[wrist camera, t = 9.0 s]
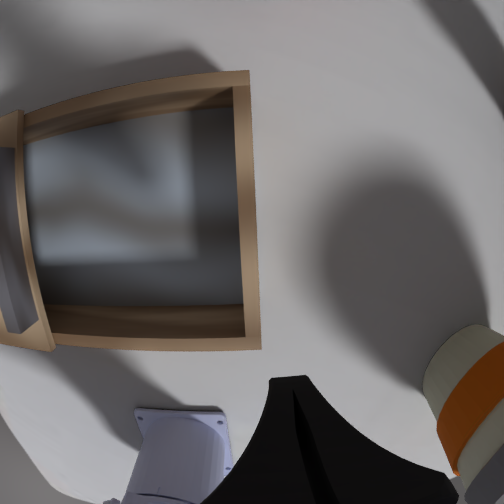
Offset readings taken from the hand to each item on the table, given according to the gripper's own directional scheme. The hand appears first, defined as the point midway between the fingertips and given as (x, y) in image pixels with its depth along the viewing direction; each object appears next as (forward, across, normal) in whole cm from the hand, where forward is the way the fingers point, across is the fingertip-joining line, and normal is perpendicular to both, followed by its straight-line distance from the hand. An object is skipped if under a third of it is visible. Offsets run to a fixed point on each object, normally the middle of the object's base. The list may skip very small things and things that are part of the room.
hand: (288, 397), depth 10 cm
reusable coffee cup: (+11, -18, +9) cm, 23 cm away
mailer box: (+10, +11, -6) cm, 16 cm away
